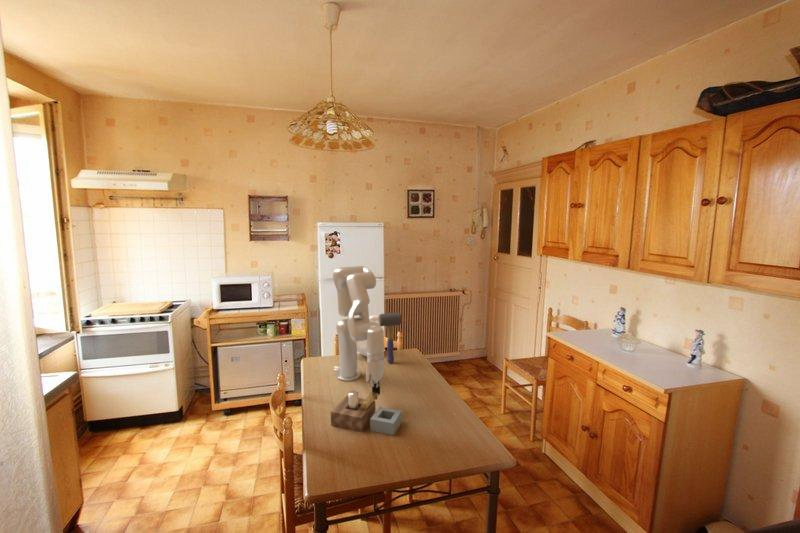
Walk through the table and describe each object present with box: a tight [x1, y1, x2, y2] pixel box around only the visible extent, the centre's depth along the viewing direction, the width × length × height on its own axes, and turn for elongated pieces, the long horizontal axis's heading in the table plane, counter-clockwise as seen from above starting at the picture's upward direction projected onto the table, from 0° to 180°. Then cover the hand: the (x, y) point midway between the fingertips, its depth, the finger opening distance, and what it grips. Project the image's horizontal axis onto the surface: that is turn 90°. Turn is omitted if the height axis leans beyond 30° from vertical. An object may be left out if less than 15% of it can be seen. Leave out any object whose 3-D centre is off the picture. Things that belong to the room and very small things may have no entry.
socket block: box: [330, 395, 377, 432], centre depth 155 cm, size 14×14×6 cm
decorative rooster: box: [355, 314, 383, 358], centre depth 225 cm, size 25×16×25 cm, turn 109°
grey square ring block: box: [369, 406, 403, 436], centre depth 150 cm, size 10×10×5 cm
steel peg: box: [347, 390, 359, 411], centre depth 154 cm, size 4×4×12 cm
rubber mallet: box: [378, 312, 402, 364], centre depth 212 cm, size 12×8×30 cm, turn 101°
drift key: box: [362, 391, 379, 410], centre depth 156 cm, size 4×10×2 cm, turn 160°
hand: (376, 394), depth 163 cm, fingers closed
